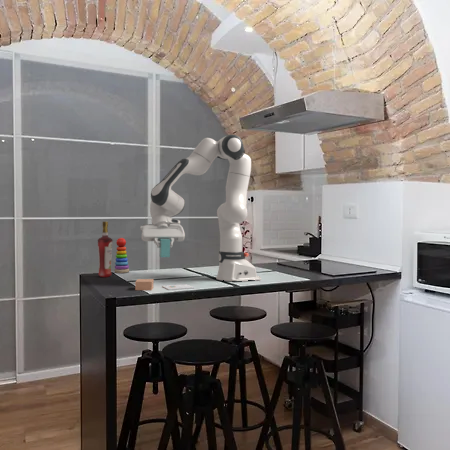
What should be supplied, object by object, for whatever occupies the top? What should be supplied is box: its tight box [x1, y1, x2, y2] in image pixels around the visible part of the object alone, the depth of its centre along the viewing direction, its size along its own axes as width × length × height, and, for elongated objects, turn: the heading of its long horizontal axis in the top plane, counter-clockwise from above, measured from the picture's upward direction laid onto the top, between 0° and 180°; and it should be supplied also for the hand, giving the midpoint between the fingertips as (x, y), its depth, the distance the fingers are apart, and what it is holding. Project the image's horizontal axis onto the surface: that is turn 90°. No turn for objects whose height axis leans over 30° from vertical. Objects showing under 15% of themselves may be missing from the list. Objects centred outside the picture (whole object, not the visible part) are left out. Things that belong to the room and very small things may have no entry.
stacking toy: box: [114, 237, 130, 274], centre depth 257 cm, size 8×8×19 cm
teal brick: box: [159, 239, 171, 258], centre depth 219 cm, size 4×4×8 cm
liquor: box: [97, 221, 114, 278], centre depth 240 cm, size 7×7×28 cm
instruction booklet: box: [161, 283, 195, 291], centre depth 213 cm, size 12×9×1 cm
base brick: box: [134, 278, 154, 291], centre depth 208 cm, size 7×7×4 cm
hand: (165, 246), depth 218 cm, fingers closed on teal brick, 4 cm apart
